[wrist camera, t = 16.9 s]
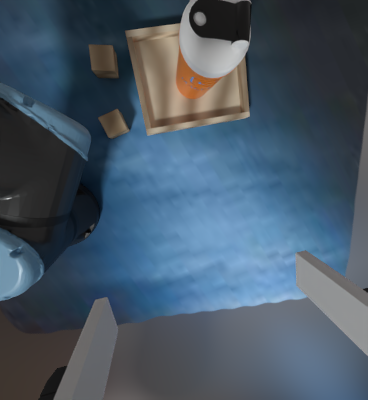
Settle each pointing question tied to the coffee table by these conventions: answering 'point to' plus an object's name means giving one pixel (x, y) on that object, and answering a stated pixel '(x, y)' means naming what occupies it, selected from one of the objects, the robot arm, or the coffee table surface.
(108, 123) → the oak block
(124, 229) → the coffee table surface
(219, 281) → the coffee table surface
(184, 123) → the tray
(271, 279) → the coffee table surface
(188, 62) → the shaker bottle
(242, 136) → the coffee table surface
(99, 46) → the oak block
